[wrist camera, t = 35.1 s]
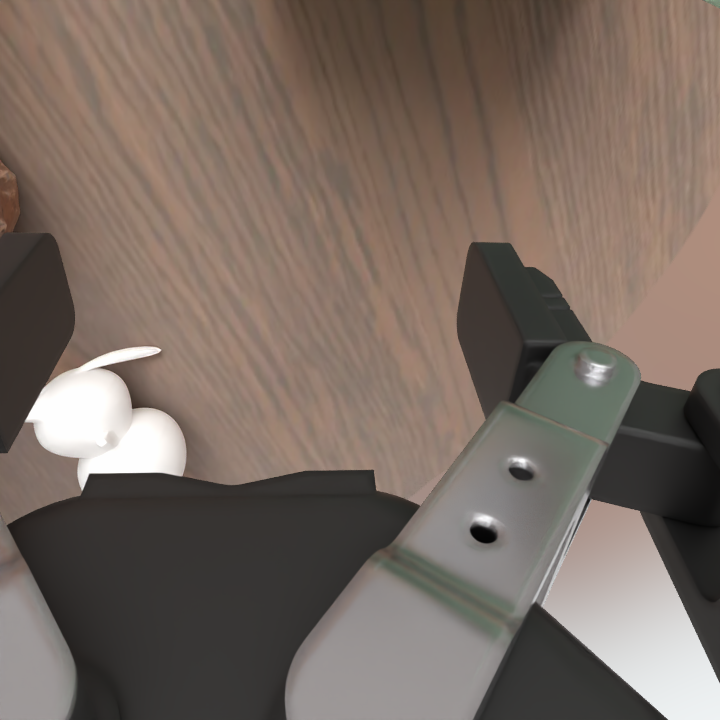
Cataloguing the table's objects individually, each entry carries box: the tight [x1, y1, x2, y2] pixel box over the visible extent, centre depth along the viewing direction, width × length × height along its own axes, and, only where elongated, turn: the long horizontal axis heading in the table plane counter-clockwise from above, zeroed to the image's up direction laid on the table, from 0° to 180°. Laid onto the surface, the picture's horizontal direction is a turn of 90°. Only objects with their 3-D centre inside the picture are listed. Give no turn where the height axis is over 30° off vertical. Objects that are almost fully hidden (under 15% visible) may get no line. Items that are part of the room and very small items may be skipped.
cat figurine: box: [25, 346, 186, 491], centre depth 44 cm, size 9×11×12 cm
